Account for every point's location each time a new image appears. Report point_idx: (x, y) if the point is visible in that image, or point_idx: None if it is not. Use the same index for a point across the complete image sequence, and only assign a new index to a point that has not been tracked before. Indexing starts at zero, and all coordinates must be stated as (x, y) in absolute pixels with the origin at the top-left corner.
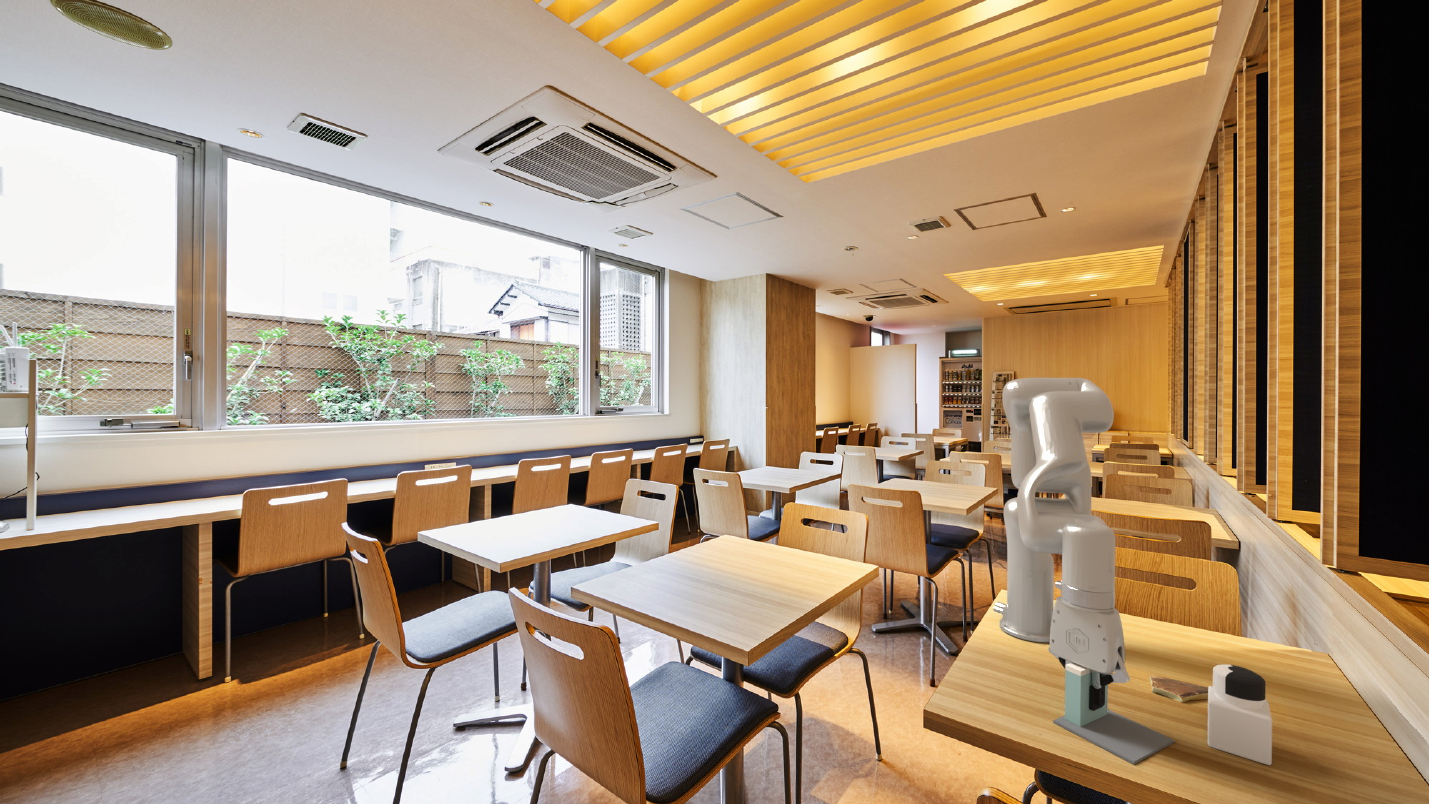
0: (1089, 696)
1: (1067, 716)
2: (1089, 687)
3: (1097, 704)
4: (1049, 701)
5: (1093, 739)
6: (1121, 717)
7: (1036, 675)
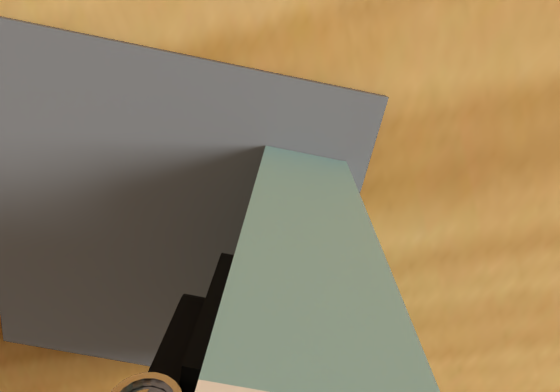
0: None
1: (334, 166)
2: None
3: (197, 296)
4: (452, 288)
5: (173, 70)
6: None
7: None
